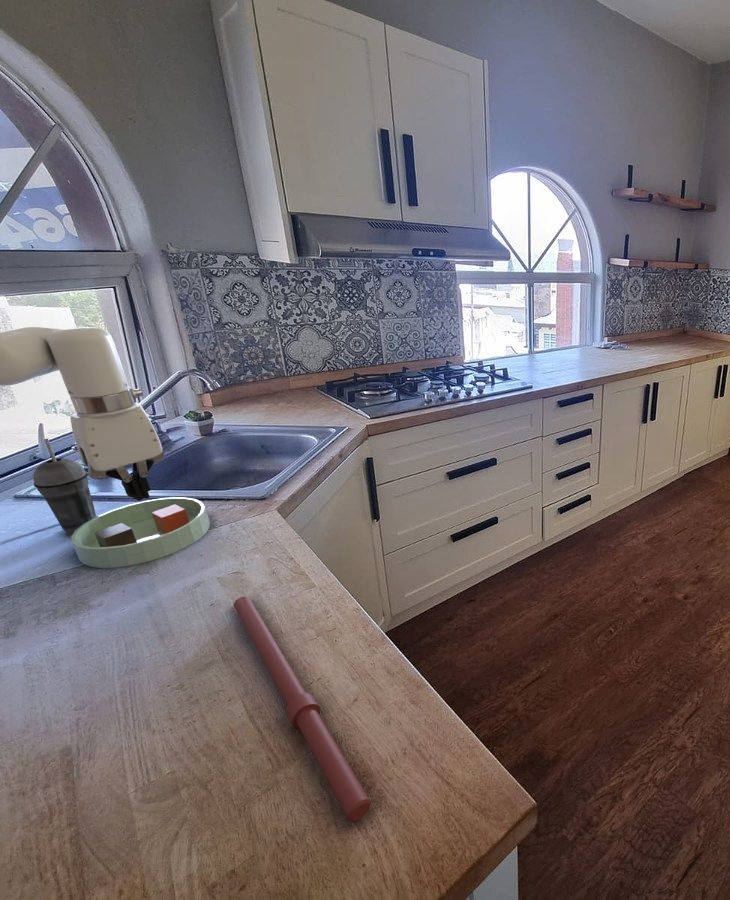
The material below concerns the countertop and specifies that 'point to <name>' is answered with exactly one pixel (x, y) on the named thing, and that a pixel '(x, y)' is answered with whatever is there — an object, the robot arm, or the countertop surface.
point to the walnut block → (115, 536)
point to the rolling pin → (305, 715)
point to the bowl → (140, 533)
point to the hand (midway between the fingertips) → (140, 497)
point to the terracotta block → (170, 518)
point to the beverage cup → (65, 491)
